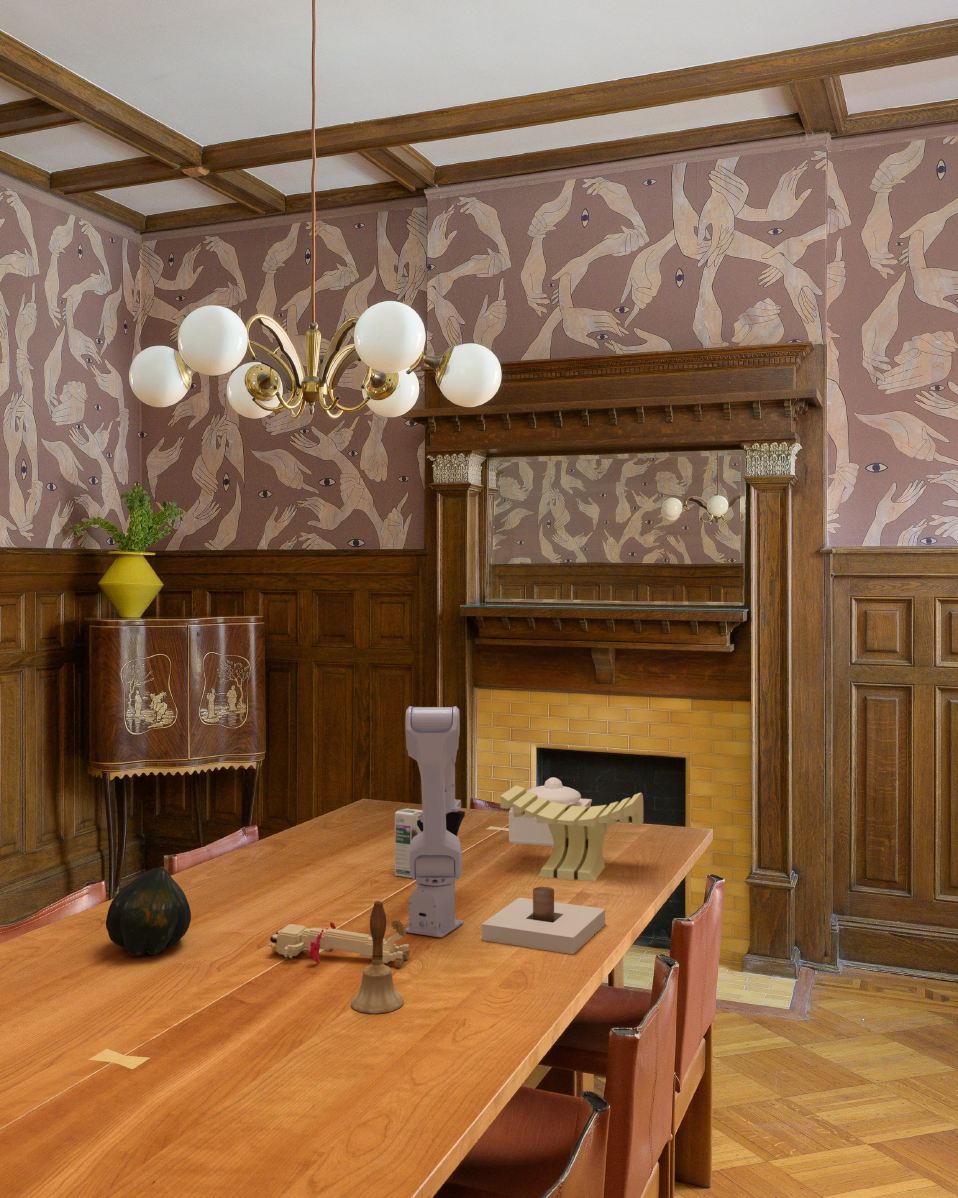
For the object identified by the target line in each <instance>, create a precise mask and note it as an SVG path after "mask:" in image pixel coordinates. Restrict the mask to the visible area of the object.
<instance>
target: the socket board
mask: <svg viewBox="0 0 958 1198" xmlns="http://www.w3.org/2000/svg"><path fill="white" fill-rule="evenodd" d="M605 925H606V909H605V908H602V907H601V908H600V907H593V906H586V905H578V904H572V903H564V902H558V901H554V922H553V923H552V922H545V921H538V920H533V898H525V897H518V898H517V899H515V900H513V902H511V903H509V904H507V905H506V906H505V907H504V908H502V909H501V910H499V911H498V912H497V913H495V914H493V915H492V916H491V917H489V918H488V919H486V920H485V921H484V922H482V923H481V934H480V935H481V941H483V942H484V941H485V942H490V943H498V944H505V945H511V946H516V947H524V948H528V949H529V948H530V949H536V950H542V951H549V952H556V953H563V954H566V955H568V954H569V955H575V954H576V953H577V952H578V951H579V950H580V949H581V948H582V947H583V946H584V945H586V943H587V942H589V941H590V940H591V939H592V938H593V937H594V934H595V935H596V934H597V933H598V932H599V931H600V930H602V928H603V927H604V926H605ZM601 927H602V928H601ZM597 931H598V932H597ZM596 932H597V933H596Z"/></svg>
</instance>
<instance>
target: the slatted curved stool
mask: <svg viewBox="0 0 958 1198" xmlns="http://www.w3.org/2000/svg"><path fill="white" fill-rule="evenodd" d="M526 791H528V790H527V789H526V788H525V787H522V786H520V785H514V786H512V787H511V788H510V789H508V790H507V791H505V792H504V793H502V794H501V795H500V809H509V810H510V808H512V807H513V813H514V818H516V817H521V816H523V815H524V814H525V818H534V817H535V816H536V819H537V823H547V824H548V826H549V830H550V832H551V834H552V837H553V842H554V846H553V849H552V853H551V855H550V857H549V859H548V860H547V861H546V863H545V864H544V865H543V866H542V868H540V871H539V873H538V875H537V876H536V877H537V878H546V879H547V878H548V879H554V878H557V879H560V880H571V881H572V880H577V881H583V882H584V881H585V882H596V880H597V878H598V877H599V876H600V874H601V873H602V872H603V871H604V870H605V868H606V863H605V859H604V854H603V846H604V845H603V844H604V838H605V834H606V832H607V830H608V828H609V827H610V826H612V825H615V824H617V823H618V821H619V823H620V824H623V823H624V824H629V822H631V824H632V825H636V826H639V827H641V826H642V825H643V823H644V796H643V793H642V792H638V793H635V794H634V795H633V796H632V798H631V797H630V796H629V797H626V798H623V799H622V800H621V801H620V802H619V801H615V802H611V803H610V804H609V805H607V804H604V805H602V804H601V805H594V806H592V805H591V807H590V808H588V807H581V806H571V807H568V805H565V804H560V803H556V802H551V803H550V804H549V800H548V799H545V798H542V797H540V798H538V796H537V794H535V793H532V792H529V791H528V792H527V793H526Z"/></svg>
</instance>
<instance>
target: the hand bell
mask: <svg viewBox="0 0 958 1198" xmlns="http://www.w3.org/2000/svg"><path fill="white" fill-rule="evenodd" d="M370 912H371V913H370V916H369V917H370V918H369V933H370V937H372V940H373V952H372V954H373V955H372V957H371V964H370V965H367V966H366V967H365V968H364V969H363V971H362V977H361V984H360V987H359V989H358V992H357V993H356V994H355V995H354V996H353V997H352V998H351V1001H350V1006H351V1008H353V1010H355V1011H358V1012H360V1013H365V1014H376V1015H377V1014H385V1013H390V1012H395V1011H396V1010H399V1009H400V1008H401V1007H402V1006H403V1005H404V1003H405V1001H404V999H403V997H402V995H401V994H400V993H399V992H398V991H397V989H396V987H395V985H394V981H393V973H392V969H391V967H389V966H388V965H385V963H383V959H382V958H383V955H382V954H383V939H385V935H386V930H387V915H386V912H385V908H384V904H383V901H380V900H376V901H374V904H373V907H372V910H371V911H370Z"/></svg>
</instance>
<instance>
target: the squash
mask: <svg viewBox="0 0 958 1198" xmlns="http://www.w3.org/2000/svg"><path fill="white" fill-rule="evenodd" d="M191 921H192V911H191V907H190V904H189V901H188V899H187V896H186V894H185V893H184V891H183V889H182V888H181V886H180V885H179V884H178V883H177V881H175V880H174V878H173V877H172V876H171V874H170V873H169V872H168V871H167V869H165V867H164V866H159V867H154V868H151V869H150V870H147V871H146V872H144V873H142V874H140V875H139V876H137V877H136V878H135V879H133V880H132V881H130V882H129V883H128V884H127V885H125V886H124V887H123V888H121V890H119V892H118V893H117V894H116V895H115V896H114V897H113V899H112V901H111V902H110V905H109V907H108V909H107V915H106V920H105V929H106V931H107V933H108V938H109V939H110V941H111V942H112V943H113V944H114V945H116V946H118V947H120V948H122V949H126V951H127V952H128V954H129V955H130V956H133V957H137V958H140V957H142V956H144V955H146V953H148V954H151V955H157V954H159V953H161V952H162V951H164V949H166V948H171V947H173V946H174V947H175V945H177V944H178V943H179V942H180V941H181V939H182V938H183V937H184V936H185V935H186V933H187V932H188V930H189V927H190V924H191Z"/></svg>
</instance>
